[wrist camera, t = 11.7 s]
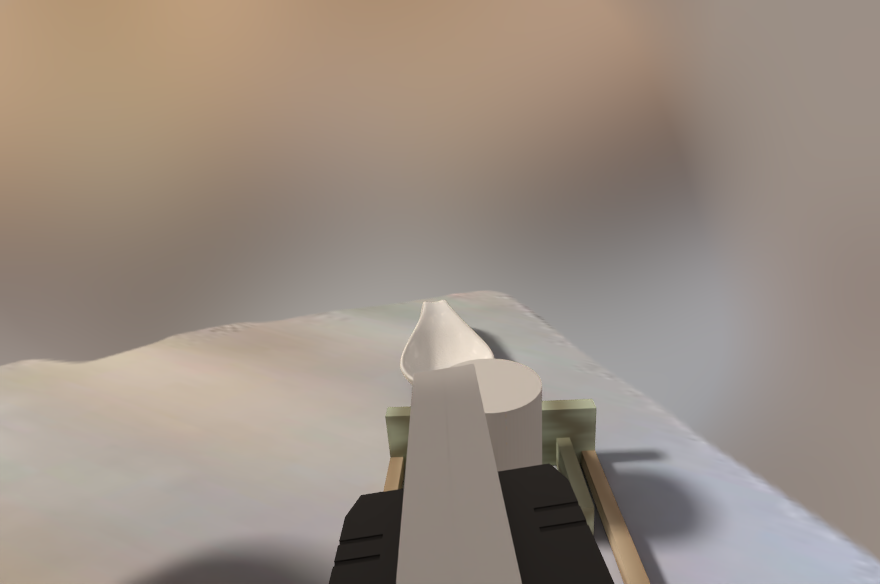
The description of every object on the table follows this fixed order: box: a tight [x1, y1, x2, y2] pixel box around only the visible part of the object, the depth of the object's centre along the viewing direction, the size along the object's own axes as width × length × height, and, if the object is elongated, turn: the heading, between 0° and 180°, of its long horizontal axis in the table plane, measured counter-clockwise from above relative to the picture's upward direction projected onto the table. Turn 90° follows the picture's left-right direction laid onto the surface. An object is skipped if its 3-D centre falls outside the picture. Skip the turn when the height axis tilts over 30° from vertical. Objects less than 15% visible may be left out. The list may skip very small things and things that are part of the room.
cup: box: [449, 359, 542, 472], centre depth 38 cm, size 8×8×12 cm
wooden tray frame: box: [383, 399, 650, 584], centre depth 31 cm, size 19×30×6 cm, turn 178°
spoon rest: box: [400, 300, 495, 385], centre depth 65 cm, size 24×12×7 cm, turn 8°
